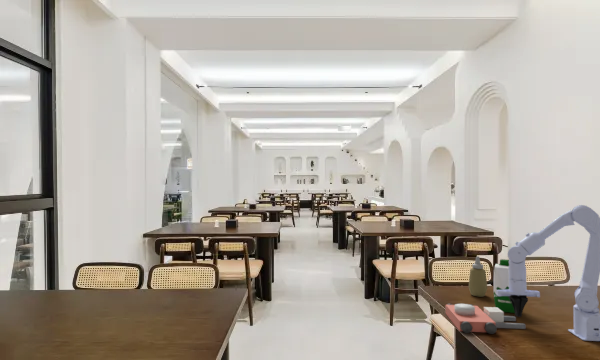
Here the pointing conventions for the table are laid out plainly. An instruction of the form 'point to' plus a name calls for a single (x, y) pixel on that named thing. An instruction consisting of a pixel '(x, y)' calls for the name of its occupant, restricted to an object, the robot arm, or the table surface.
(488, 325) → the forklift
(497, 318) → the white block
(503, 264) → the milk carton
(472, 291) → the squeeze bottle
